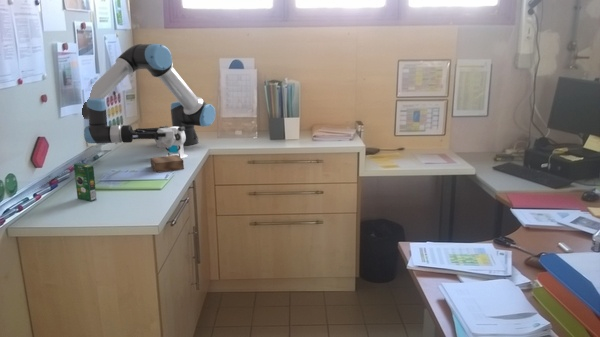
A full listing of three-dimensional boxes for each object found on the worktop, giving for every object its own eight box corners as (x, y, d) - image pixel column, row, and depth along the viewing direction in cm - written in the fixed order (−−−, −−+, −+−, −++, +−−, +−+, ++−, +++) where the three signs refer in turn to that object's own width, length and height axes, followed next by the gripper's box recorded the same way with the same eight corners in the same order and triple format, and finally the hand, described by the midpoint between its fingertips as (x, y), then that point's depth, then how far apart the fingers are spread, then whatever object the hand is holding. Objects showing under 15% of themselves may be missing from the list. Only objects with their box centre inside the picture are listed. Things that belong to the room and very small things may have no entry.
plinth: (177, 163, 250) (177, 154, 249) (183, 168, 239) (183, 160, 238) (151, 166, 245) (150, 157, 244) (156, 172, 234) (155, 163, 233)
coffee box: (97, 199, 196) (93, 164, 193) (91, 202, 194) (86, 166, 191) (84, 196, 201) (79, 162, 197) (77, 198, 198) (72, 163, 195)
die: (164, 151, 232) (177, 131, 233) (147, 140, 233) (159, 121, 234) (169, 154, 241) (181, 135, 242) (152, 143, 242) (165, 124, 242)
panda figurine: (158, 158, 260) (155, 127, 256) (171, 153, 270) (169, 124, 266) (179, 160, 256) (177, 129, 252) (192, 155, 266) (190, 125, 262)
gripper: (128, 138, 247) (178, 136, 249) (117, 147, 227) (172, 145, 229) (126, 121, 245) (177, 120, 247) (115, 129, 225) (171, 128, 227)
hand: (175, 132), depth 238 cm, fingers closed on die, 8 cm apart
